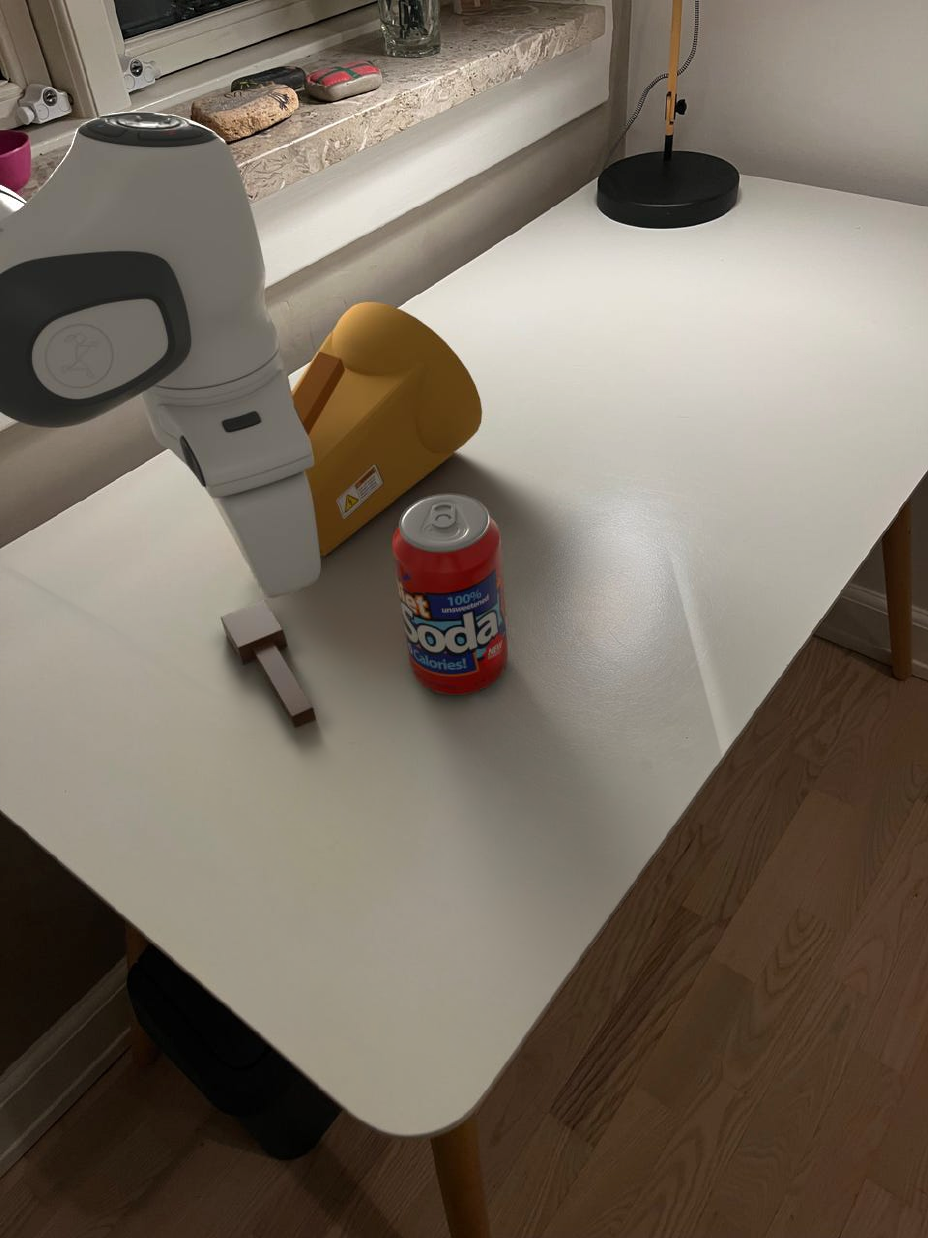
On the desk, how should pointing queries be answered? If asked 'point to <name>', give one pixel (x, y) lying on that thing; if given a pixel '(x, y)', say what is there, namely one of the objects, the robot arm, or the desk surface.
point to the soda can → (451, 593)
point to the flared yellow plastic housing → (379, 414)
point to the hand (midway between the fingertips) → (261, 565)
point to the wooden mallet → (268, 656)
